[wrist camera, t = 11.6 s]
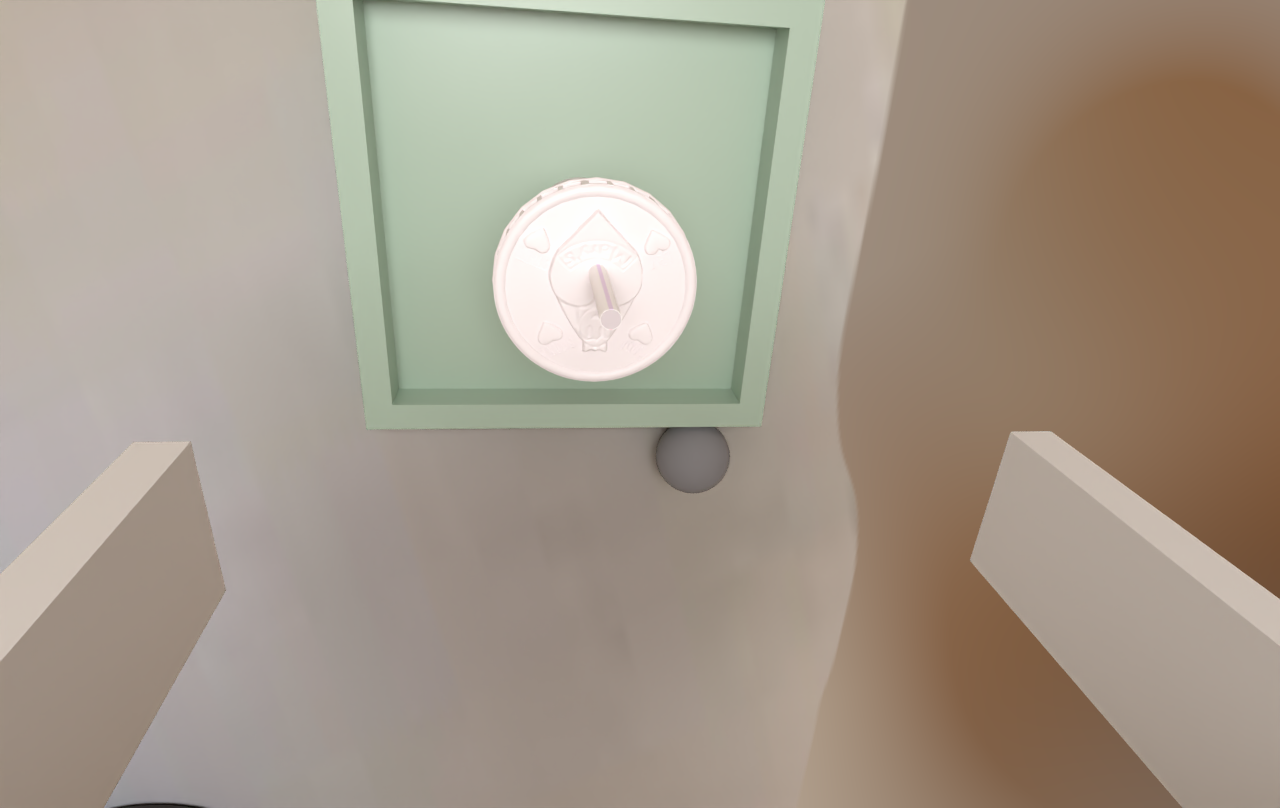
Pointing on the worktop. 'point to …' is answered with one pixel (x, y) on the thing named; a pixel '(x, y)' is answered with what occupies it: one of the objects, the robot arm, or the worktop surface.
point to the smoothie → (594, 279)
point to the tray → (541, 157)
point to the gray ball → (692, 458)
